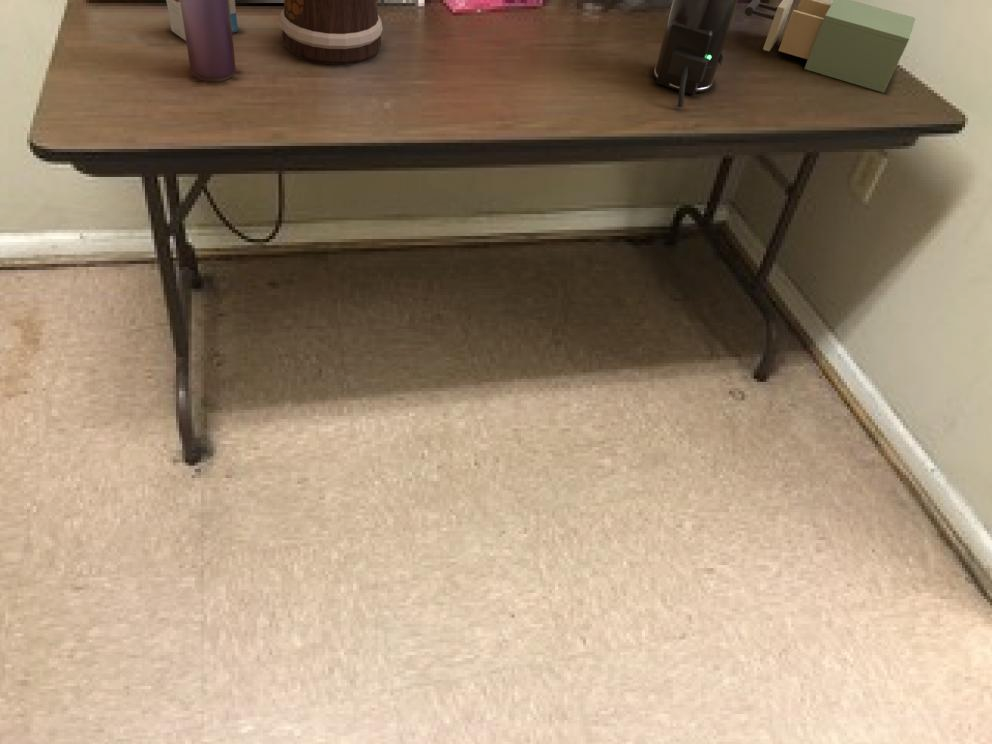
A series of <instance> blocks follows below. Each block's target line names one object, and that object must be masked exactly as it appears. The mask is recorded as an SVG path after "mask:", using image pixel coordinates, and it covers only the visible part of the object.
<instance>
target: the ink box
mask: <svg viewBox="0 0 992 744" xmlns="http://www.w3.org/2000/svg"><path fill="white" fill-rule="evenodd" d="M165 1H166V7H167V13H168V19H169V25H170V30H171V32H173V33H174V34H175V35H176V36H178V37H180V38H181V39H182V40H184V41H185V42H186V36H185V29H184V22H183V15H182V8H181V1H180V0H165ZM229 8H230V17H231V27H232V34H234V33H238V32H239V27H238V18H237V17H238V16H237V7H236V0H229Z"/></svg>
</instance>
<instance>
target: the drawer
mask: <svg viewBox="0 0 992 744" xmlns="http://www.w3.org/2000/svg"><path fill="white" fill-rule="evenodd" d="M793 3H794V0H781V2H780V3H779V5H778V6H774V5H771V4H767V3H763V2H761V0H751V1H750V3H749V4H748V5H747V6H746V7H745V9H744V14H745V16H746V17H751V16H752V15H755V16H757V17H762V18H766V19H769V20H772V22H771V26H770V27H769V30H768V34H767V36H766V39H765V43H764V45H763V48H762V50H763V51H766V52H771V50H772V48H773V47H774V45H775V44H776V42H777V41H778V39H779V37H780V36H781V35H782V32H783V30H784V27H785V25H786V21H787V19H788V16H789V13H790V11H791V8H792V6H793ZM831 4H832V3H828V2H826V1H820V0H800V1H799V4H798V7H797V9H793V10H792V12H791V14H790V18H789V20H788V22H787V26H786V28H785V31H784V34H783V37H782V40H781V42H780V45H779V48H778V52H781V53H784V54H787V55H790V56H791V55H792V56H794V57H798V58H800V59H805V60H808V58H809V55H810V53H811V50H812V48H813V45H814V43H815V40H816V38H817V35H818V32H819V30H820V27H821V25H822V22H823V20H824V17H825V15H826V13H827V11H828V10H829V8H830V6H831ZM758 8H762V9H765V10H769V11H772V12H775V14H771V13H768V12H764V11H761V10H757V9H758Z"/></svg>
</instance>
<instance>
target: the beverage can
mask: <svg viewBox="0 0 992 744" xmlns="http://www.w3.org/2000/svg"><path fill="white" fill-rule="evenodd" d="M180 1H181V8H182V15H183V22H184V29H185V36H186V41H185V42H186V48H187V56H188V62H189V63H188V64H189V69H190V72H191V73H192V74H193V76H194V77H195V78H197V79H199V80H201V81H205V82H211V83H212V82H217V83H218V82H223V81H227V80H230V79H231V78H232V77H233V76H234V74H235V73H236V70H237V67H236V59H235V58H236V56H235V47H234V38H233V37H234V36H233V33H232V27H231V17H230V8H229V0H180Z"/></svg>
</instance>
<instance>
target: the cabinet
mask: <svg viewBox="0 0 992 744" xmlns="http://www.w3.org/2000/svg"><path fill="white" fill-rule="evenodd" d="M830 4H831V6H830V8H829V10H828V11H827V13H826V15H825V17H824V20H823V22H822V25H821V27H820V30H819V32H818V35H817V38H816V40H815V43H814V45H813V48H812V50H811V53H810V55H809V58H808V59H806V63H805V66H804V70H806V71H809V72H813V73H817V74H820V75H823V76H826V77H829V78H833V79H836V80H840V81H842V82H846V83H850V84H854V85H856V86H860V87H863V88H867V89H870V90H873V91H877V92H880V93H883V94H884V93H885V92H886V90H887V87H888V86H889V83H890V81H891V79H892V77H893V75H894V73H895V71H896V69H897V66H898V64H899V62H900V60H901V58H902V56H903V54H904V52H905V50H906V47H907V46H908V43H909V41H910V38H911V35H912V33H913V28H914V25H915V21H916V17H914V16H910V15H906V14H903V13H899V12H896V11H892V10H888V9H885V8H882V7H878V6H874V5H870V4H868V3H863V2H859V1H856V0H833V1H832V3H830Z"/></svg>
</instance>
